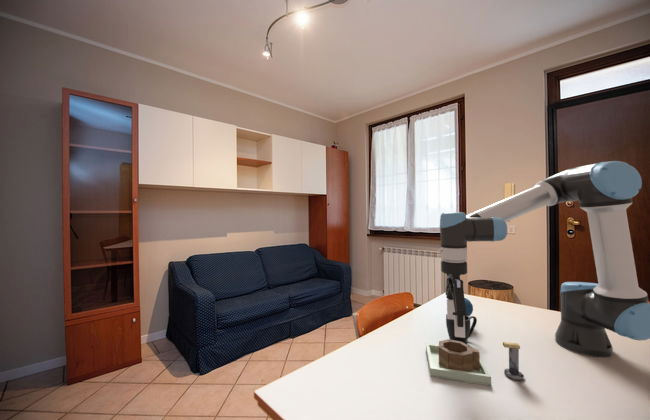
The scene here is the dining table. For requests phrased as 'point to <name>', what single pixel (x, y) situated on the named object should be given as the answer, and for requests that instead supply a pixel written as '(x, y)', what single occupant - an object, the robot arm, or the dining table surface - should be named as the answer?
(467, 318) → the mug
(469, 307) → the light bulb
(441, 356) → the ring
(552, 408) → the dining table surface
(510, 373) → the door handle
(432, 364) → the tray
